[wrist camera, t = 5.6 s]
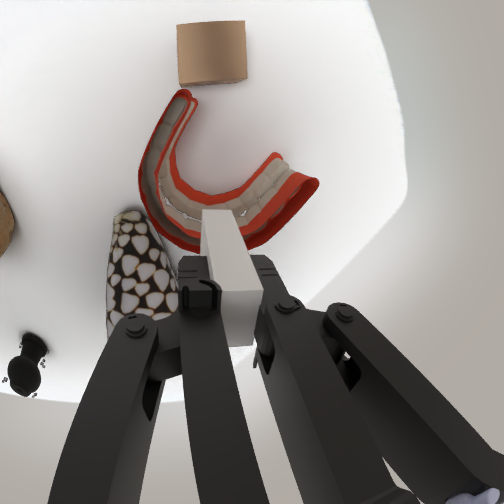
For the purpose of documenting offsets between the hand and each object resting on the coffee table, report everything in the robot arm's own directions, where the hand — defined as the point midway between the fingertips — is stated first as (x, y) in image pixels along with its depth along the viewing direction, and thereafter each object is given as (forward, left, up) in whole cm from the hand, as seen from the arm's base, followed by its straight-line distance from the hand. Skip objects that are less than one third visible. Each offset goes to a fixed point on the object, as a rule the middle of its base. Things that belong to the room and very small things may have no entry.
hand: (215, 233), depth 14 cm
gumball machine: (-28, -26, -13) cm, 40 cm away
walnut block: (-1, +11, -13) cm, 17 cm away
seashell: (-7, -13, -13) cm, 20 cm away
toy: (0, 0, -13) cm, 13 cm away
